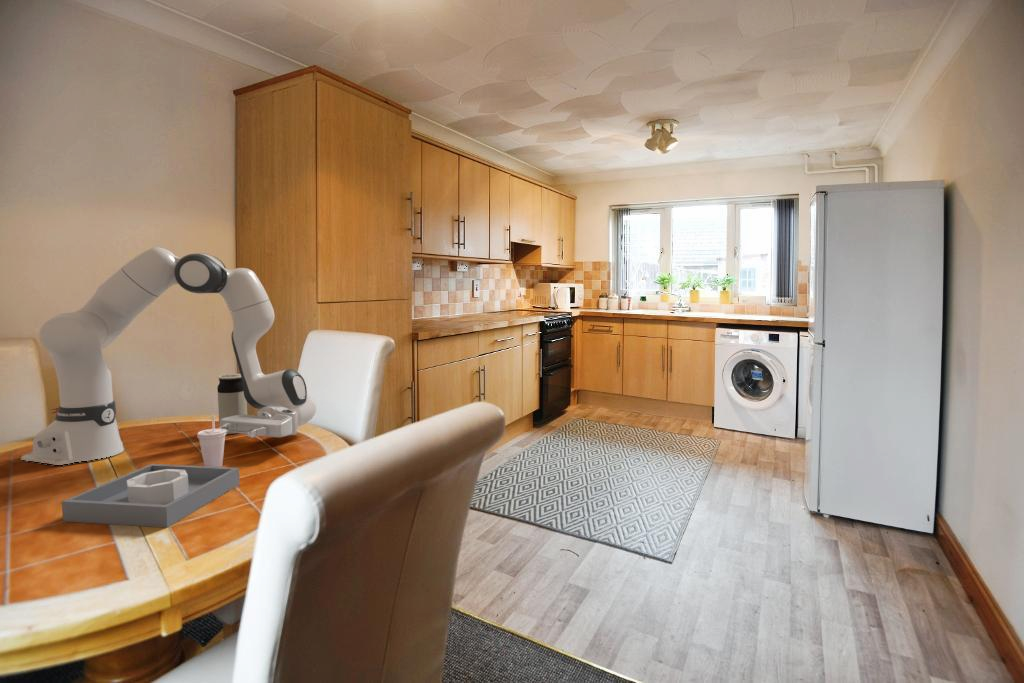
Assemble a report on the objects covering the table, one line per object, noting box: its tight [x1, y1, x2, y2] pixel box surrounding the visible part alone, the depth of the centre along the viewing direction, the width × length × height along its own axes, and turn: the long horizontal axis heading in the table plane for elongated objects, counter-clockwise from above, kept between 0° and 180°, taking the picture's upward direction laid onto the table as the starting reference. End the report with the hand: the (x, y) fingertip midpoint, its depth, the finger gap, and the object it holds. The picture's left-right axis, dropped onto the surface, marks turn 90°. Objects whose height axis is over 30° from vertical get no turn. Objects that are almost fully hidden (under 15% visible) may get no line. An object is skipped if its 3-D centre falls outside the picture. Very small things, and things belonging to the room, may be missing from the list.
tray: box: [61, 463, 241, 528], centre depth 110 cm, size 22×22×5 cm
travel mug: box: [216, 373, 248, 435], centre depth 164 cm, size 8×8×18 cm
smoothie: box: [196, 414, 228, 467], centre depth 130 cm, size 6×6×14 cm
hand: (234, 433), depth 137 cm, fingers open, 8 cm apart
